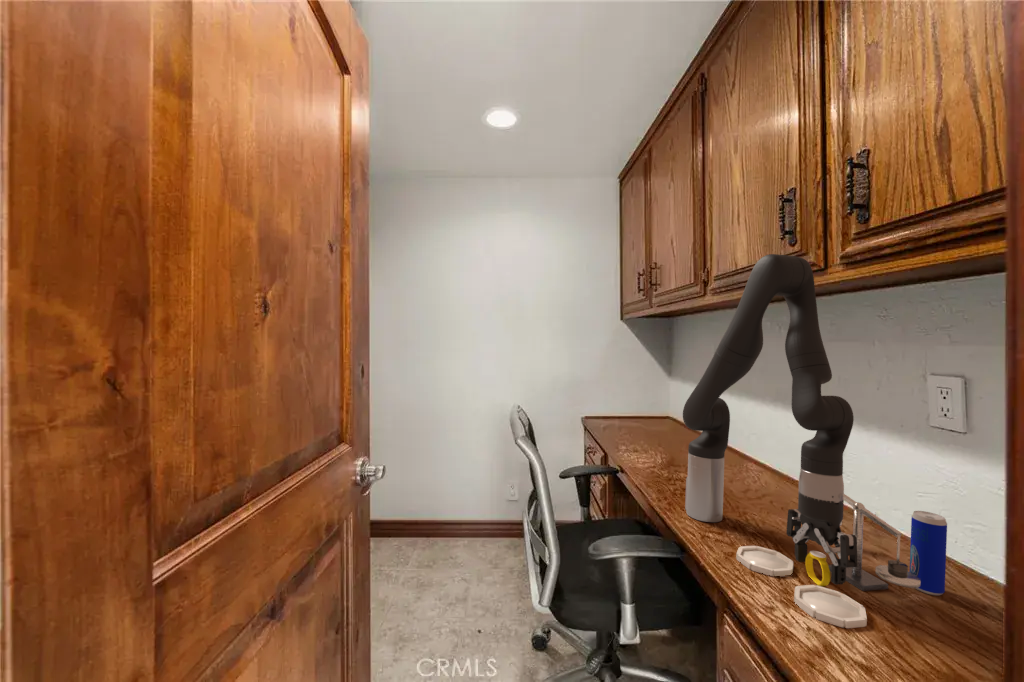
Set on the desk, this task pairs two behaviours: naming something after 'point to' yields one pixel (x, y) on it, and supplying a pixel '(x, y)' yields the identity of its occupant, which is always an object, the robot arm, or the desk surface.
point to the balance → (891, 573)
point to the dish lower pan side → (830, 606)
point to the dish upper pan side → (764, 560)
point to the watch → (824, 567)
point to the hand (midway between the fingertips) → (818, 571)
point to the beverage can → (928, 551)
